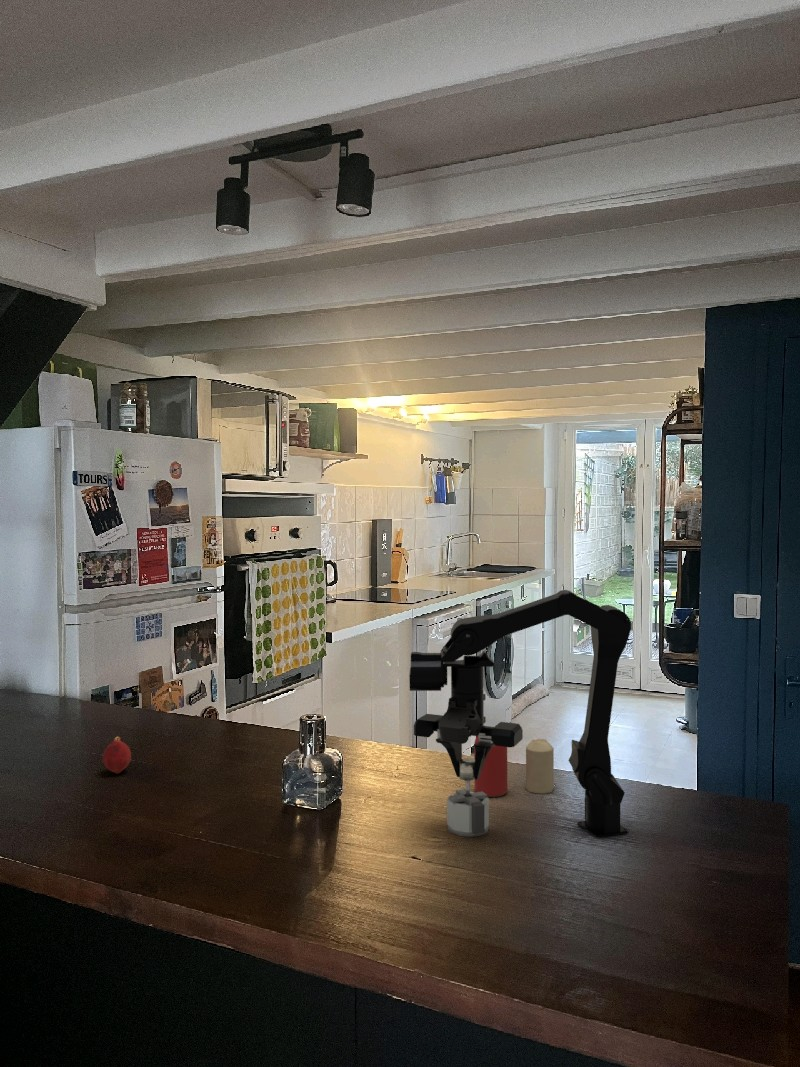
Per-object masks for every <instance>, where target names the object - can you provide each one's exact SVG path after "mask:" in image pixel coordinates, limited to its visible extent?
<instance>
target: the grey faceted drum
mask: <svg viewBox="0 0 800 1067" xmlns="http://www.w3.org/2000/svg"><path fill="white" fill-rule="evenodd" d="M479 799H480V800H481V801H480V800H479ZM463 801H466V802H467V803H468V804H470V805H466V804H459V803H457V802H463ZM446 825H447V831H448V832H449V833H451V834H452V835H455V836H457V837H458V836H459V837H464V838H474V837H480V836H484V835H486V834H487V833H488V832H489V825H490V798H489V797H487V794H485V793H484V792H483V791H482V792H476V791H475V792H473V791H470V797H466V788H462V789H455V793H451V795H449V796H448V797H446Z"/></svg>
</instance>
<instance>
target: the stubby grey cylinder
mask: <svg viewBox="0 0 800 1067" xmlns="http://www.w3.org/2000/svg"><path fill="white" fill-rule="evenodd" d="M474 768H475V760H474V758H462V759H461V760H459V777H458V778H459V779H460V780H462V781H465V789H466V797H470V792H471V781H474V780H475V775H474ZM479 800H480V799H479ZM480 801H481V800H480ZM457 803H459V804H466V805H470V804H468V803H467V802H466V801H463V802H457Z"/></svg>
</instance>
